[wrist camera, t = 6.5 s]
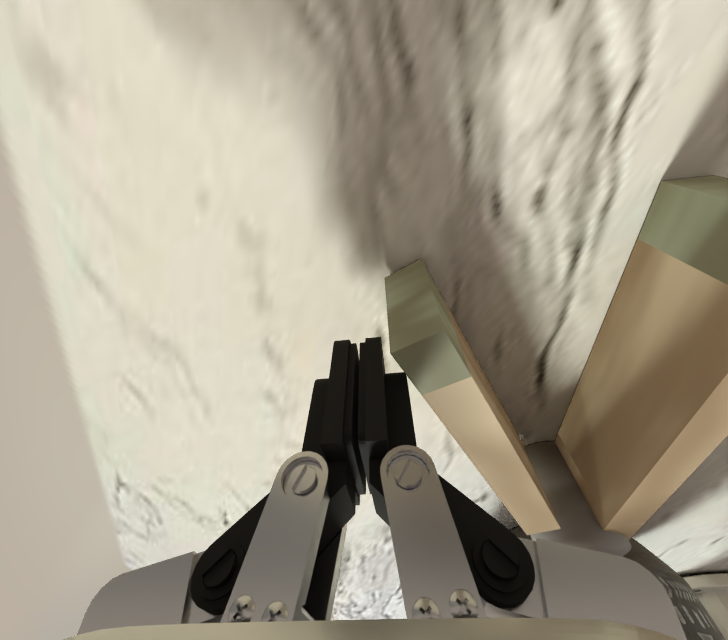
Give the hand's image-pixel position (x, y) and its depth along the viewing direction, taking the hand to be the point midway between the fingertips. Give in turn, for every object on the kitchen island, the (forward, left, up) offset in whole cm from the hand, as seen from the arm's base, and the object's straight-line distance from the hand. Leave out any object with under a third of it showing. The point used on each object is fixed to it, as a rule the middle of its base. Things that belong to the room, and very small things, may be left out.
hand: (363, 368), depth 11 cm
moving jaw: (-5, +4, -3) cm, 7 cm away
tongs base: (-10, +5, -3) cm, 12 cm away
